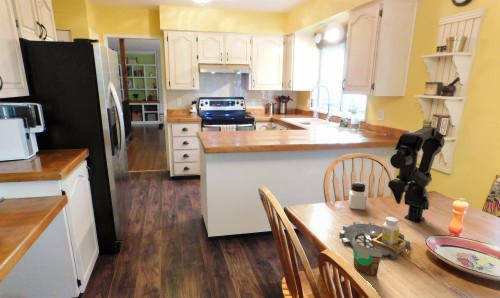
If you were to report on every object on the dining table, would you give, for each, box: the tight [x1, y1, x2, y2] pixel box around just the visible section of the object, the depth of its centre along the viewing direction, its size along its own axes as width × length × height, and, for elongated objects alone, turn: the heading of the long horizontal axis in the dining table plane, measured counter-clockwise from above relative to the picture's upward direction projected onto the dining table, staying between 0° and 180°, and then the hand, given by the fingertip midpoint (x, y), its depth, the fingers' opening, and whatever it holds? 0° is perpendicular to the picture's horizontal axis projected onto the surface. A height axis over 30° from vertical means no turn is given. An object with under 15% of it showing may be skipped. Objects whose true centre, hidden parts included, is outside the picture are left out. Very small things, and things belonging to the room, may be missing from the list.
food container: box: [352, 232, 383, 278], centre depth 93 cm, size 12×6×10 cm, turn 5°
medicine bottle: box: [348, 182, 368, 211], centre depth 141 cm, size 7×7×12 cm
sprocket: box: [339, 221, 411, 261], centre depth 110 cm, size 25×25×4 cm
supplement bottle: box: [382, 216, 400, 247], centre depth 105 cm, size 5×5×10 cm
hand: (403, 200), depth 116 cm, fingers open, 9 cm apart
